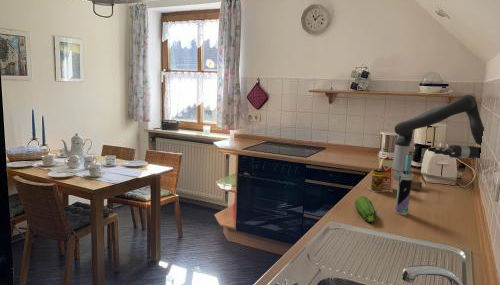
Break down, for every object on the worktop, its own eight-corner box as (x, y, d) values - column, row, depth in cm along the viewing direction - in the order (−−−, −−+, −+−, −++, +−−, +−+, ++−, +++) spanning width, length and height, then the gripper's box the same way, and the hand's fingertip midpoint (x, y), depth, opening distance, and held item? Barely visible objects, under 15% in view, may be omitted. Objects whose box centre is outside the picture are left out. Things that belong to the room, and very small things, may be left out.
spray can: (401, 215, 174) (406, 172, 170) (392, 211, 179) (397, 169, 175) (410, 214, 176) (415, 172, 173) (401, 210, 181) (406, 169, 177)
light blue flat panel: (397, 176, 241) (400, 151, 238) (402, 176, 241) (405, 151, 238) (406, 183, 226) (409, 156, 223) (411, 183, 226) (415, 156, 223)
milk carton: (392, 192, 210) (396, 156, 207) (374, 189, 213) (378, 154, 209) (392, 187, 219) (395, 153, 215) (375, 185, 221) (378, 151, 218)
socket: (405, 186, 223) (406, 178, 222) (416, 187, 223) (417, 179, 222) (409, 189, 217) (410, 181, 216) (421, 190, 217) (422, 182, 216)
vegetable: (365, 191, 179) (377, 206, 159) (371, 205, 180) (383, 221, 160) (350, 197, 180) (360, 213, 160) (356, 211, 181) (367, 228, 161)
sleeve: (393, 177, 242) (394, 170, 241) (403, 178, 242) (404, 171, 241) (400, 182, 231) (400, 175, 231) (410, 182, 231) (411, 175, 231)
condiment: (374, 192, 207) (377, 171, 205) (365, 188, 215) (367, 167, 213) (386, 192, 210) (388, 170, 208) (376, 187, 218) (378, 166, 215)
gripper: (453, 143, 233) (426, 142, 233) (466, 147, 219) (437, 146, 219) (452, 155, 234) (425, 154, 234) (464, 160, 220) (436, 159, 220)
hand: (431, 150), depth 227 cm, fingers open, 8 cm apart
